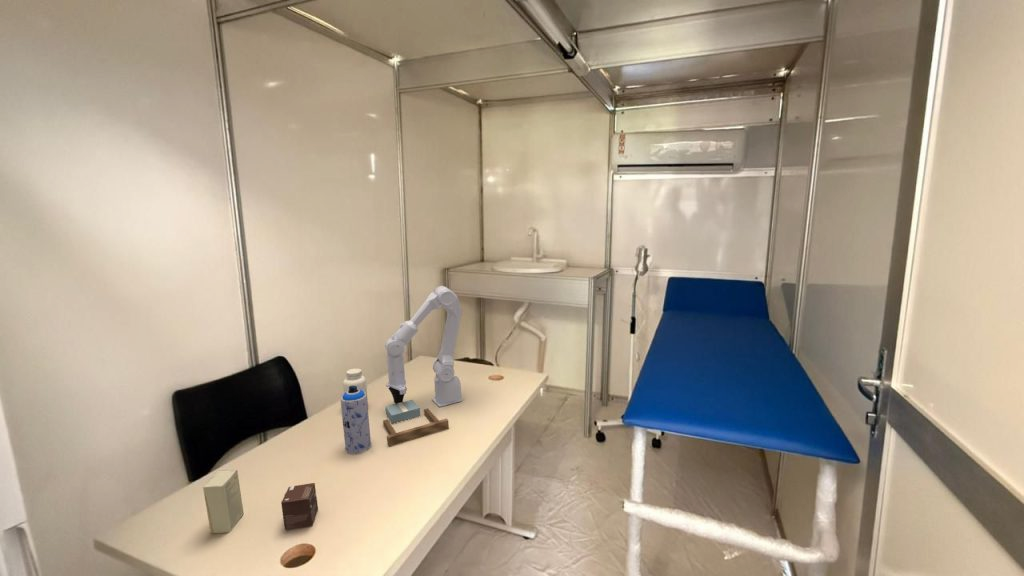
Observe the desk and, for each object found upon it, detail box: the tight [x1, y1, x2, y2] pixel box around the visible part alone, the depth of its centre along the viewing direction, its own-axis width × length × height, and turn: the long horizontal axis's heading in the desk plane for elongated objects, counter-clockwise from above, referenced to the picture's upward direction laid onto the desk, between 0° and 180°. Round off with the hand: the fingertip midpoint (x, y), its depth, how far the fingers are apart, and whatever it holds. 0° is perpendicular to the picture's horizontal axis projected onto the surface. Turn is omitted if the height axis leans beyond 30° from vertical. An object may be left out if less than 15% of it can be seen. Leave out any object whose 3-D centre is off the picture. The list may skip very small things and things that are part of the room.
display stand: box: [382, 407, 450, 447], centre depth 140 cm, size 20×14×3 cm
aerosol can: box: [340, 386, 373, 455], centre depth 127 cm, size 8×8×20 cm
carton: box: [385, 399, 421, 425], centre depth 149 cm, size 10×8×4 cm
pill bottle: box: [342, 368, 369, 406], centre depth 153 cm, size 8×8×15 cm
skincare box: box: [202, 469, 244, 534], centre depth 97 cm, size 6×4×12 cm
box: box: [281, 482, 319, 531], centre depth 98 cm, size 6×6×7 cm
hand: (398, 405), depth 153 cm, fingers closed
